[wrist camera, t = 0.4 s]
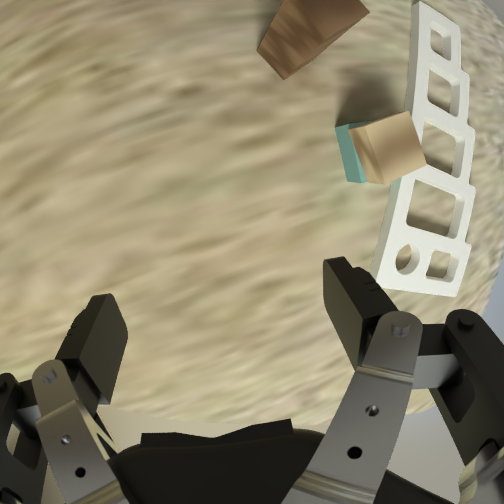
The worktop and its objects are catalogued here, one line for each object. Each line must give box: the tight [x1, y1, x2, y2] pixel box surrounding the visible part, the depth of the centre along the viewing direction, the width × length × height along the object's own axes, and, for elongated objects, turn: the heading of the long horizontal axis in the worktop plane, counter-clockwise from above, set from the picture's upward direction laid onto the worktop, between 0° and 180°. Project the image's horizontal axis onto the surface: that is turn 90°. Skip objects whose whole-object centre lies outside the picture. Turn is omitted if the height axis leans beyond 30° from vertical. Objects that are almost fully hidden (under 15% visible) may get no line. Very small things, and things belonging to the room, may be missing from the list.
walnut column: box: [257, 0, 370, 80], centre depth 25 cm, size 5×5×15 cm
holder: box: [369, 1, 476, 297], centre depth 38 cm, size 45×18×3 cm, turn 168°
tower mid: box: [348, 111, 427, 185], centre depth 31 cm, size 6×6×4 cm
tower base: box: [335, 120, 374, 183], centre depth 35 cm, size 7×7×4 cm
